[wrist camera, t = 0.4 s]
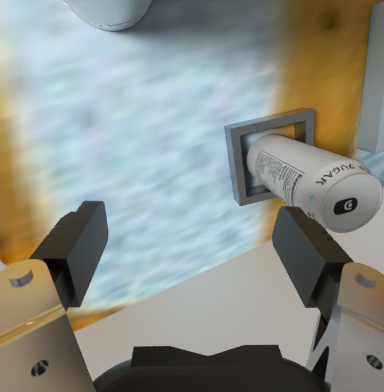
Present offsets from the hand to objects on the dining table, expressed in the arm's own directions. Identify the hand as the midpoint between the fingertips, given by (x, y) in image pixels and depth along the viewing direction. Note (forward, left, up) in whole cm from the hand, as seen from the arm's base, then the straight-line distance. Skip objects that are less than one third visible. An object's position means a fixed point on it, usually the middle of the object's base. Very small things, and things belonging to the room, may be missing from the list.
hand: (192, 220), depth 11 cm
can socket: (+5, +12, -19) cm, 23 cm away
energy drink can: (+5, +12, -20) cm, 23 cm away
